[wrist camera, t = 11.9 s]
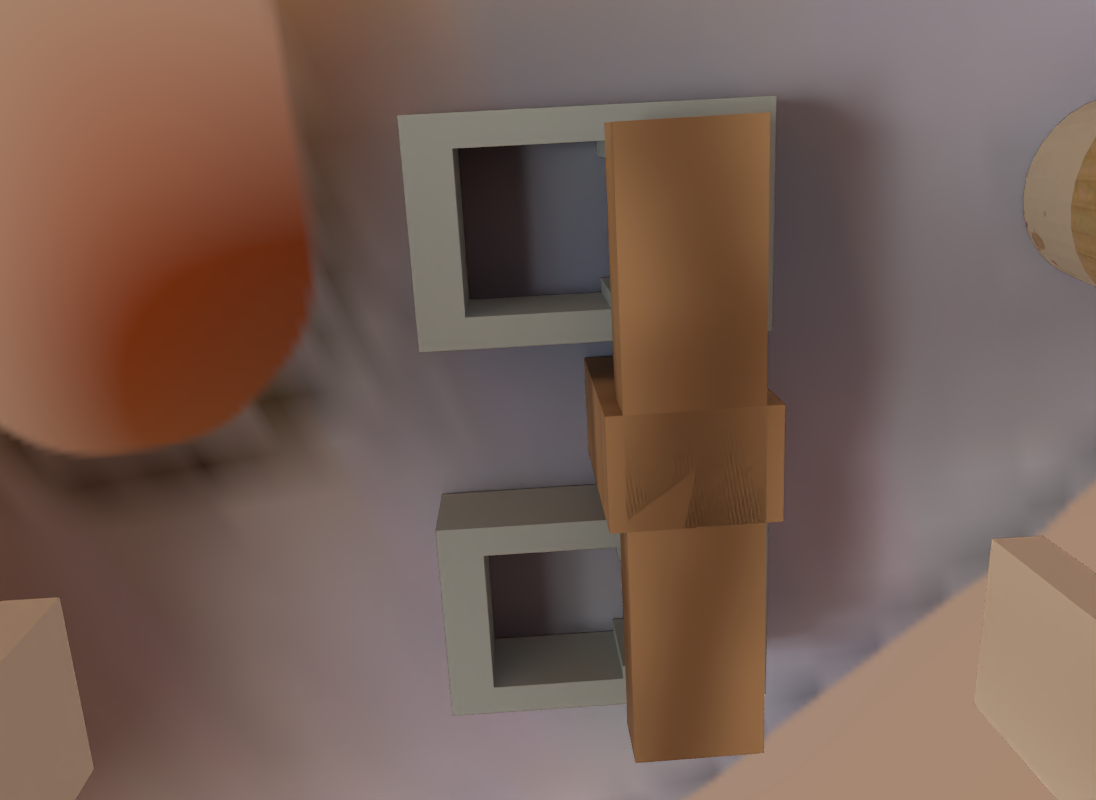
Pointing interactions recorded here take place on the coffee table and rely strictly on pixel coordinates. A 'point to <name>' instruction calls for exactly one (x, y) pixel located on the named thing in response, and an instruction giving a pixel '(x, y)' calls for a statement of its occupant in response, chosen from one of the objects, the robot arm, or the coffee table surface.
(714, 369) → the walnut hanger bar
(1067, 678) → the robot arm
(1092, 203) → the coffee cup
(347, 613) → the coffee table surface
